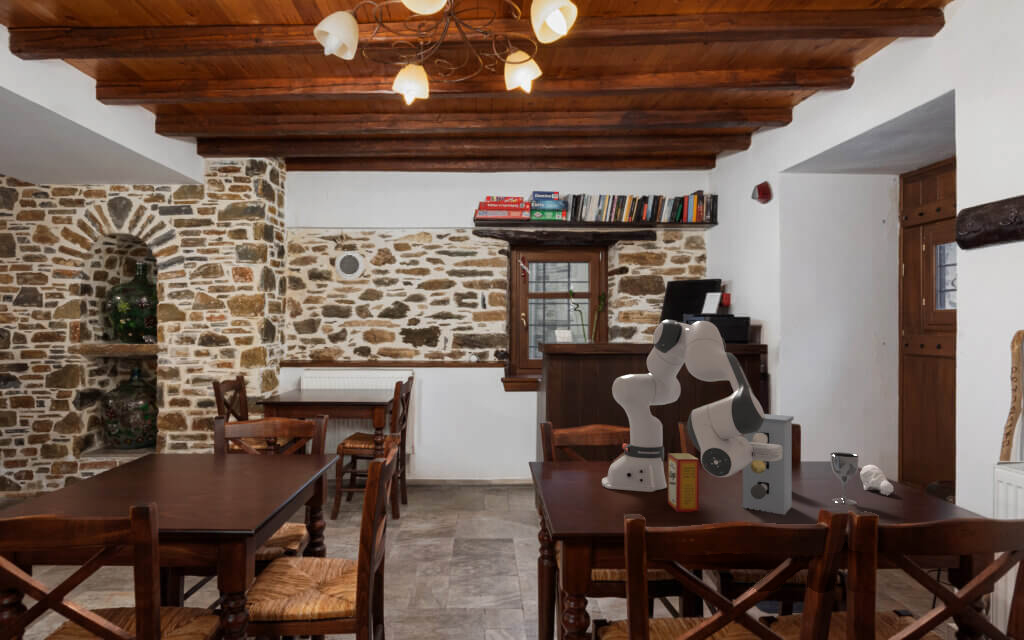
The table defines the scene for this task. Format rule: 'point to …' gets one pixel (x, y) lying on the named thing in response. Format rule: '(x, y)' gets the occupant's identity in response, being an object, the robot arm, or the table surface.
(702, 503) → the table surface
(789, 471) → the grey toy cabinet
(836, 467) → the wine glass
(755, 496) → the plunger low
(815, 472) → the table surface
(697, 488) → the baking soda box
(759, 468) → the plunger mid
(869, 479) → the white lumpy piece
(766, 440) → the plunger top
